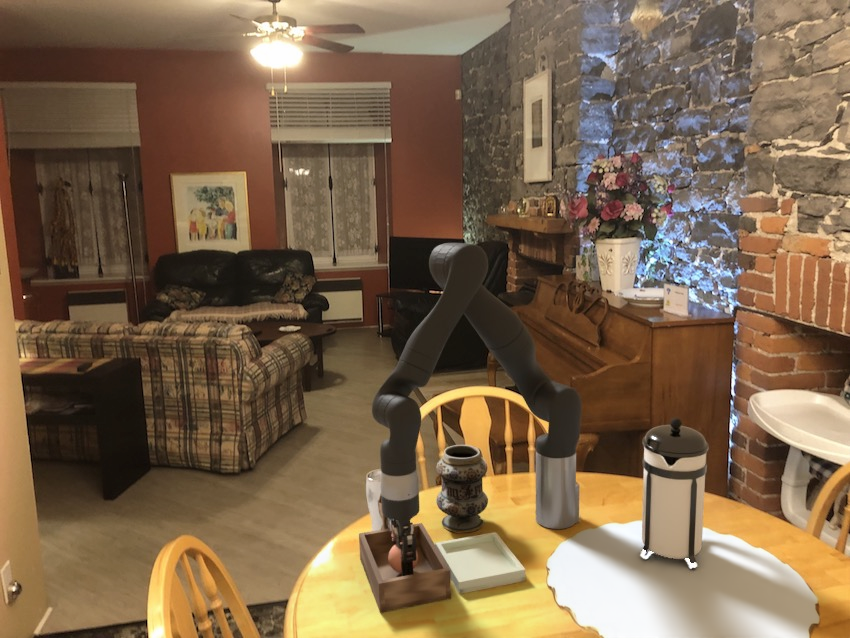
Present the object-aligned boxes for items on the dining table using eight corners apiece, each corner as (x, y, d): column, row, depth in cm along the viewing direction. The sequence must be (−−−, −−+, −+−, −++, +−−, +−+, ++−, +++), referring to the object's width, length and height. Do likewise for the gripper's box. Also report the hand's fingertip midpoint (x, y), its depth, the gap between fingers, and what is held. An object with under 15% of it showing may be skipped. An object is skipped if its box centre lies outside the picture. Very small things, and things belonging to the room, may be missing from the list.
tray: (495, 542, 154) (495, 532, 154) (525, 580, 139) (525, 569, 139) (435, 553, 150) (435, 542, 150) (459, 593, 135) (458, 582, 135)
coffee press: (728, 564, 143) (736, 425, 137) (659, 577, 139) (664, 434, 133) (678, 525, 159) (683, 399, 153) (615, 536, 155) (618, 407, 150)
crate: (422, 548, 153) (422, 523, 152) (451, 598, 134) (450, 570, 133) (360, 559, 149) (358, 533, 148) (380, 612, 130) (378, 583, 129)
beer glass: (395, 545, 154) (392, 482, 152) (365, 543, 156) (361, 480, 153) (402, 530, 161) (399, 469, 158) (373, 528, 163) (370, 467, 160)
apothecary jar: (497, 529, 160) (496, 455, 157) (449, 540, 156) (447, 464, 152) (474, 507, 171) (473, 438, 168) (429, 517, 167) (426, 446, 163)
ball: (414, 560, 145) (412, 534, 144) (422, 575, 139) (420, 548, 138) (386, 566, 143) (384, 539, 142) (392, 581, 138) (391, 554, 136)
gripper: (428, 502, 132) (431, 583, 135) (408, 473, 146) (412, 547, 149) (389, 509, 130) (393, 590, 133) (373, 479, 144) (378, 553, 147)
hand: (403, 567), depth 141 cm, fingers closed on ball, 6 cm apart
